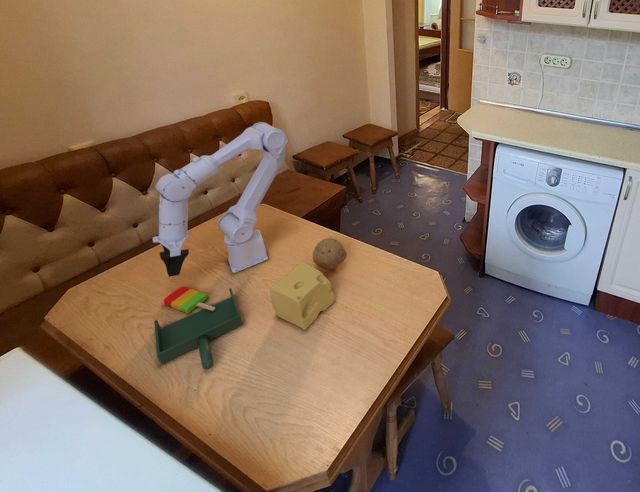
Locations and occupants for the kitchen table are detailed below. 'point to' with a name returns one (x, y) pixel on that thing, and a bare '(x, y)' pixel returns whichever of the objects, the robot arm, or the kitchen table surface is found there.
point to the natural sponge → (329, 253)
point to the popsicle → (187, 300)
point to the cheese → (301, 295)
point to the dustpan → (197, 331)
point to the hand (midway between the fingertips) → (172, 267)
